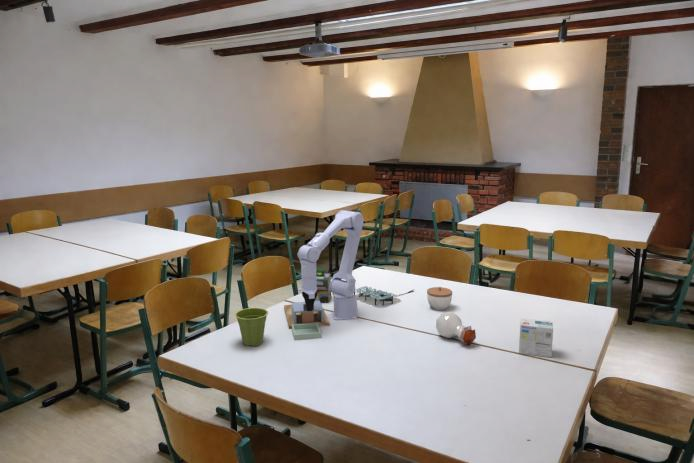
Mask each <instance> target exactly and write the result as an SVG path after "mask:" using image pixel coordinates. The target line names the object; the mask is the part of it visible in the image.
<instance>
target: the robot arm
mask: <svg viewBox="0 0 694 463" xmlns="http://www.w3.org/2000/svg"><path fill="white" fill-rule="evenodd" d="M364 221H365V218H364V216H363V215H362V213H361V212H359V211H351V210H346V209H340V210H339V211H338V212H337V213H336V214H335V216H334V219H333V221H332V222H331V223H330V224H329V225H328V226H327V228H326V229H325V230H324V231H323V232H316V234H315V236H314V237H313V238H312V239H311V240H310V241H308V242H307V243H306V244H304V245H302V246H300V248H299V249H298V251H297V258H298V259H299V263H300V266H301V267H300V269H301V270H300V271H301V272H300V274H301V277H300V278H301V287H298V291H299V292H301V296H302V298H303V299H304V302H305V304H306V309H307V311H313V307H314V302H315V299H316V297H317V292H316V291H317V277H316V269H317V261H318V260H319V258H320V255H321V253H322V251H324V250H325V249H326V247H327V246H328V245H329V244H330V239H331V238H332V237H334V235H336V234H337V233H339V232H340V230H341V229H343V230H344V231H345V232H346V235H347V236H346V239H345V244H344V249H343V253H342V258H341V262H340V265H339V269H338V271H337V272H336V273H334V274H333V276H332V278H331V282H330V286H329V288H330V291H331V296H333V312H331V315H332V317H333V319H334V321H340V320H341V321H342V320H354V319H358V300H357V299H356V296H355V295H356V294H355V295H354V292H355V291H356V290H355V289H356V279H355V277H354V276H353V270H354V266H355V261H356V257H357V253H358V249H359V244H360V241H361V240H360V239H361V236H362V229H363V226H364ZM355 293H356V292H355Z"/></svg>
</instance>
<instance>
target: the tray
mask: <svg viewBox="0 0 694 463" xmlns="http://www.w3.org/2000/svg"><path fill="white" fill-rule="evenodd" d="M291 332H292V336H293V339H294V341H300V340H301V341H302V340H303V341H304V340H313V339H322V331H321V328H320V326H318V323H308V324H295V325H292V329H291Z"/></svg>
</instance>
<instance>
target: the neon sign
mask: <svg viewBox="0 0 694 463" xmlns="http://www.w3.org/2000/svg"><path fill="white" fill-rule="evenodd" d="M414 290H415V289H411V290H410V291H408V292H406V293H402V294H400V296H403V295H406V294H409V293H411V292H413V291H414ZM353 295H355V296H356V299H357V301H359V302H361V303H363V304H366V305H369V306H372V307H374V308H378V309H379V308H380V309H381V308H382V309H384V308H388V307H391V306H394V305H396V304H399V303H401V302H402V300H401V299H400V298H397V297H395V296H396V294H394V293H392V292H388V291H385V290H384V291H383V290H381V289H378V290H377V289H376V288H372V287H369V286H362V287H358V288H355V292H354V294H353Z"/></svg>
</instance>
